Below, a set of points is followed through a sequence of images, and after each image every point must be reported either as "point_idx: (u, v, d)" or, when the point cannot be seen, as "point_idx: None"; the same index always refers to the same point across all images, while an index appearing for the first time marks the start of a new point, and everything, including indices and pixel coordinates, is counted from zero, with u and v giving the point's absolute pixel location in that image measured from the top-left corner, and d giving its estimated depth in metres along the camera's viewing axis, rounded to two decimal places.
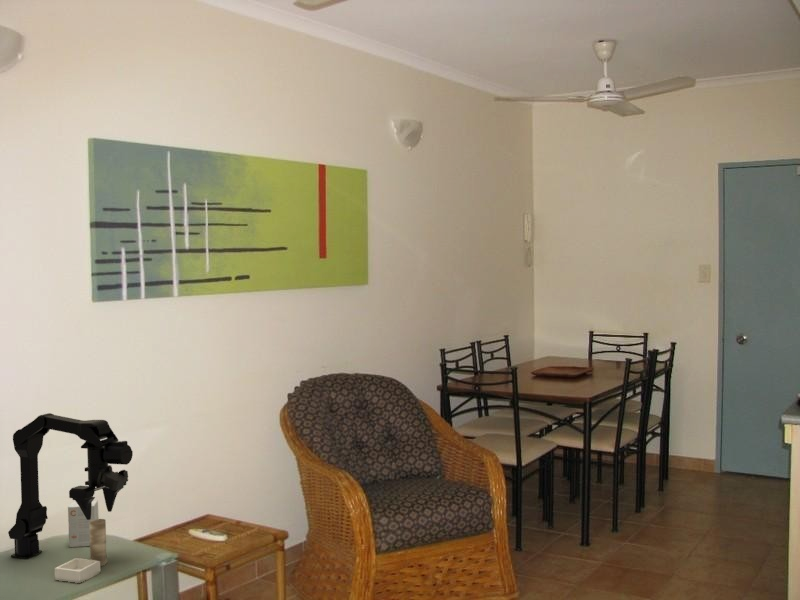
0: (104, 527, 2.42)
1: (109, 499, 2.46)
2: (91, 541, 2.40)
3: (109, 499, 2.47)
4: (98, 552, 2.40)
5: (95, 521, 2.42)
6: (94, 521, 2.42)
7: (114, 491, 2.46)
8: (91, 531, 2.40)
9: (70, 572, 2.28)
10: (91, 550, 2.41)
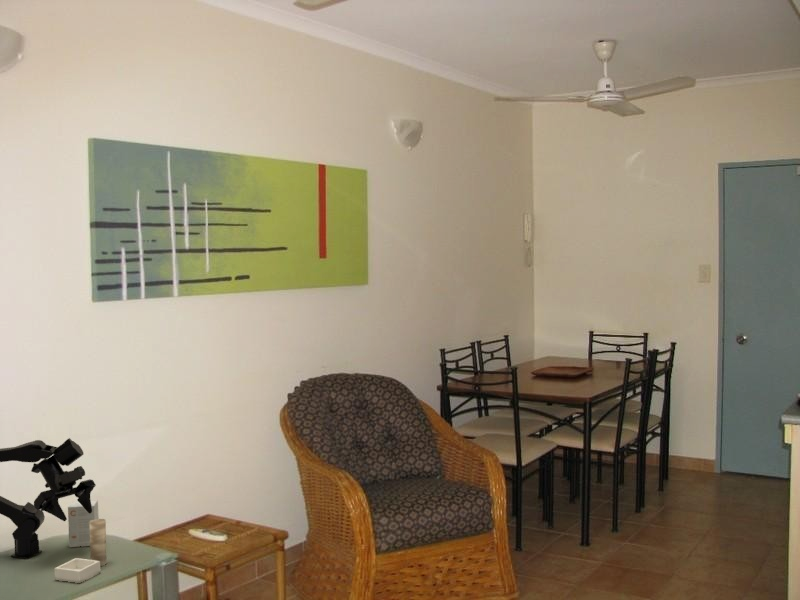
0: (104, 527, 2.42)
1: (85, 503, 2.51)
2: (91, 541, 2.40)
3: (85, 503, 2.51)
4: (98, 552, 2.40)
5: (95, 521, 2.42)
6: (94, 521, 2.42)
7: (85, 493, 2.52)
8: (91, 531, 2.40)
9: (70, 572, 2.28)
10: (91, 550, 2.41)
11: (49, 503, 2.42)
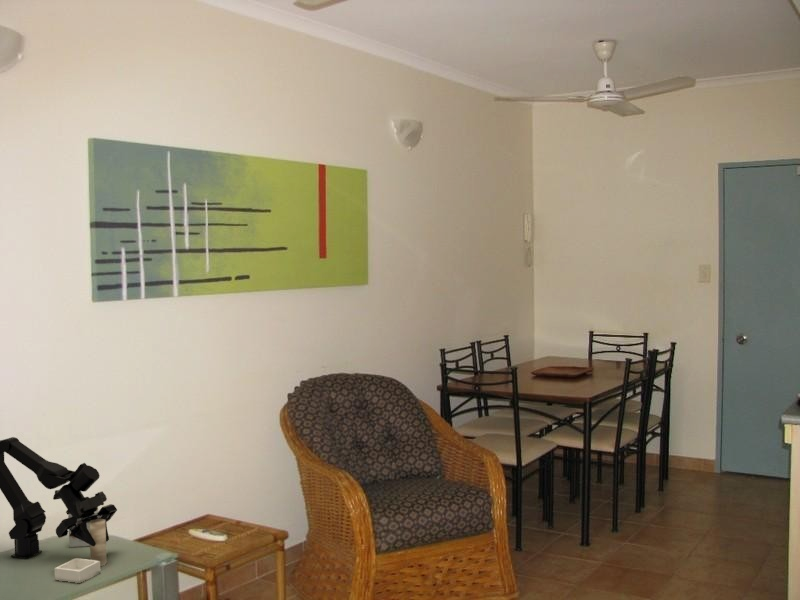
0: (104, 527, 2.42)
1: None
2: None
3: None
4: (98, 552, 2.40)
5: (95, 521, 2.42)
6: (94, 521, 2.42)
7: None
8: (91, 531, 2.40)
9: (70, 572, 2.28)
10: (91, 550, 2.41)
11: (78, 528, 2.39)
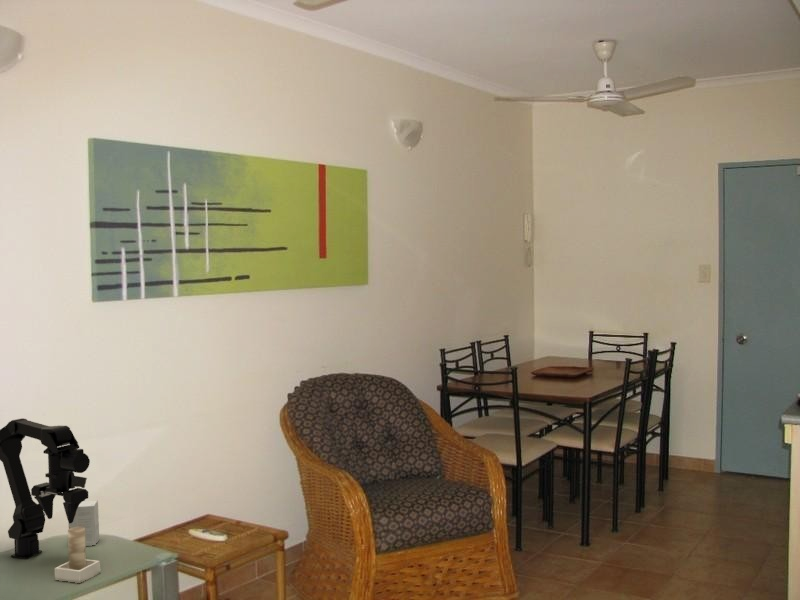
0: (83, 535, 2.32)
1: (49, 506, 2.45)
2: (70, 550, 2.31)
3: (48, 506, 2.45)
4: (77, 561, 2.31)
5: (74, 529, 2.32)
6: (73, 529, 2.32)
7: (53, 497, 2.46)
8: (70, 539, 2.30)
9: (70, 572, 2.28)
10: (70, 559, 2.31)
11: None
